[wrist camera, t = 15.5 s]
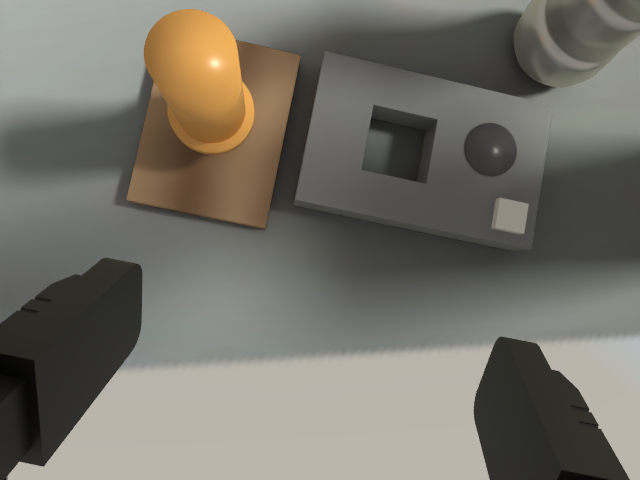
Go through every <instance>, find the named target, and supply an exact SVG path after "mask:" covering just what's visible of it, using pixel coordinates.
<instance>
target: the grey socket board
mask: <svg viewBox="0 0 640 480" xmlns="http://www.w3.org/2000/svg"><path fill="white" fill-rule="evenodd" d="M553 107H554V106H553V105H549V104H545V103H541V102H537V101H533V100H528V99H524V98H520V97H516V96H512V95H508V94H504V93H499V92H495V91H491V90H487V89H483V88H479V87H474V86H470V85H466V84H462V83H458V82H454V81H450V80H445V79H441V78H437V77H433V76H429V75H425V74H420V73H416V72H412V71H408V70H404V69H400V68H395V67H391V66H387V65H383V64H379V63H375V62H371V61H366V60H362V59H358V58H354V57H350V56H346V55H341V54H337V53H333V52H329V51H325V52H324V56H323V60H322V64H321V67H320V72H319V77H318V82H317V87H316V92H315V97H314V102H313V107H312V112H311V117H310V122H309V127H308V132H307V137H306V142H305V147H304V152H303V157H302V162H301V167H300V172H299V177H298V182H297V187H296V192H295V197H294V202H293V205H294V206H299V207H304V208H308V209H313V210H318V211H323V212H328V213H332V214H337V215H342V216H347V217H352V218H356V219H361V220H366V221H371V222H376V223H380V224H385V225H390V226H395V227H400V228H404V229H409V230H414V231H419V232H424V233H428V234H433V235H438V236H443V237H448V238H452V239H457V240H462V241H467V242H472V243H476V244H481V245H486V246H491V247H496V248H500V249H505V250H510V251H519V250H529V249H532V244H533V238H534V231H535V225H536V218H537V212H538V205H539V199H540V192H541V186H542V179H543V173H544V166H545V159H546V153H547V146H548V140H549V133H550V127H551V120H552V114H553ZM371 118H373V119H377V120H382V121H386V122H390V123H395V124H399V125H403V126H408V127H412V128H416V129H421V130H425V137H424V142H423V148H422V154H421V159H420V165H419V170H418V176H417V182H416V181H411V180H407V179H402V178H397V177H393V176H388V175H384V174H379V173H375V172H370V171H365V170H361V169H362V164H363V158H364V153H365V148H366V142H367V137H368V132H369V126H370V121H371Z"/></svg>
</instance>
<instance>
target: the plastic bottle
mask: <svg viewBox="0 0 640 480" xmlns="http://www.w3.org/2000/svg"><path fill="white" fill-rule="evenodd" d="M639 35H640V0H532V1H531V2H530V3H529V5H528V6H527V8H526V9H525V11H524V13H523V14H522V16H521V18H520V19H519V21H518V23H517V25H516V28H515V31H514V38H513V41H514V50H515V54H516V58H517V60H518V63H519V65H520V66H521V68H522V69H523V71H524V72H525V73H526V74H527V75H528V76H529V77H531V78H532V79H534V80H535V81H537V82H539V83H542V84H544V85H547V86H551V87H567V86H571V85H574V84H576V83H579V82H582V81H585V80H587V79H589V78H591V77H592V76H594V75H595V74H597V73H598V72H599V71H600V70H601V69H602V68H603V67H605V66H606V65H607V64H608V63H609V62H610V61H611V60H612V59H613V58H614V56H615V55H616V54H617V53H618V52H619V51H620V50H621V49H623V48H624V47H625V46H627V45H628V44H629V43H630V42H632V41H633V40H634V39H635V38H637V37H638V36H639Z"/></svg>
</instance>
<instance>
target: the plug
mask: <svg viewBox="0 0 640 480" xmlns="http://www.w3.org/2000/svg"><path fill="white" fill-rule="evenodd" d="M144 59H145V64H146V68H147V70H148V72H149V74H150V76H151V77H152V79H153V81H154V82H155V84H156V86H157V87H158V89H159V91H160V92H161V94H162V96H163V97H164V99H165V100H166V102H167V104H168V105H167V113H168V119H169V122H170V125H171V127H172V129H173V130H174V132H175V134H176V135H177V137H178V138H179V139H180V140H181V141H182V142H183V143H184V144H185V145H186V146H187V147H189V148H190V149H192V150H194V151H196V152H199V153H202V154H208V155H218V154H224V153H228V152H230V151H232V150H234V149H236V148H237V147H239V146H240V145H241V144H242V143H243V142H244V141H245V140H246V139H247V137H248V136H249V134H250V132H251V130H252V128H253V124H254V118H255V111H254V103H253V99H252V96H251V94H250V91H249V90H248V88H247V87H246V85H245V84H244V83H243V82H242V78H241V71H240V63H239V56H238V49H237V44H236V41H235V39H234V36H233V34H232V33H231V31H230V30H229V28H228V27H227V26H226V25H225V24H224V23H223V22H222V21H221V20H220V19H218V18H217V17H215V16H213V15H212V14H209V13H207V12H204V11H200V10H194V9H186V10H179V11H175V12H172V13H170V14H168V15H166V16H164V17H163V18H161V19H160V20H159V21H158V22H157V23H156V24H155V25H154V26H153V27H152V29H151V30H150V32H149V34H148V36H147V38H146V42H145V46H144Z"/></svg>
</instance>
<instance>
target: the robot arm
mask: <svg viewBox="0 0 640 480" xmlns="http://www.w3.org/2000/svg"><path fill="white" fill-rule="evenodd" d="M141 318H142V269H141V266H140V265H139V264H135V263H130V262H125V261H120V260H115V259H110V258H103V259H102V260H100V261H99V262H98V263H97V264H95V265H94V266H93V267H92V268H91V269H89V270H88V271H87V272H86V273H84V274H83V275H82V276H81V275H76V274H75V275H73V276H70V277H68V278H65V279H63V280H60V281H58V282H55V283H53V284H51V285H50V286H48V287H47V288H46V289H45V290H43V291H42V292H41V293H39V294H38V295H37V296H36V297H35V299H34V300H33V299H32V300H30V301H29V302H28V303H26V304H25V305H24V306H23V307H21V310H20V311H18V310H17V311H16V312H15V313H14V314H12V315H11V316H10V317H8V318H7V319H6V320H5V321H3V322H2V323H1V324H0V480H8V477H7V476H8V474H9V473H10V472H11V471H12V470H13V468H14V467H15V466H16V465H17V463H18V462H19V461H20V462H25V463H29V464H34V465H38V466H44V465H45V464H46V463H47V461H48V460H49V459H50V458H51V456H52V455H53V454H54V452H55V451H56V450H57V448H58V447H59V446H60V445H61V443H62V442H63V441H64V439H65V438H66V437H67V435H68V434H69V433H70V431H71V430H72V429H73V428H74V426H75V425H76V424H77V422H78V421H79V420H80V418H81V417H82V416H83V415H84V413H85V412H86V410H87V409H88V408H89V407H90V405H91V404H92V403H93V401H94V400H95V399H96V398H97V396H98V395H99V394H100V392H101V391H102V390H103V388H104V387H105V386H106V384H107V383H108V382H109V380H110V379H111V378H112V377H113V375H114V374H115V373H116V371H117V370H118V369H119V367H120V366H121V365H122V364H123V362H124V361H125V360H126V358H127V357H128V356H129V354H130V353H131V352H132V350H133V349H134V347H135V345H136V343H137V340H138V337H139V334H140V330H141ZM474 419H475V424H476V428H477V432H478V435H479V439H480V443H481V447H482V451H483V455H484V459H485V462H486V467H487V470H488V474H489V478H490V480H630V479H629V478H628V476H627V474H626V472H625V471H624V469H623V467H622V465H621V464H620V462H619V460H618V458H617V457H616V455H615V453H614V451H613V450H612V448H611V446H610V444H609V443H608V441H607V439H606V437H605V436H604V434H603V432H602V431H601V429H598V423H597V422H596V420H595V418H594V416H593V415H592V413H590V412H589V408H588V406H587V404H586V402H585V401H584V399H583V397H582V396H581V394H580V392H579V390H578V389H577V388H576V387H575V386H574V385H573V384H572V383H571V382H570V381H569V380H567V379H566V377H564V376H563V375H562V374H561V373H560V372H559V371H555V370H551V368H550V366H549V364H548V362H547V360H546V358H545V357H544V355H543V353H542V351H541V349H540V347H539V346H538V345H537V344H536V343H532V342H527V341H522V340H517V339H512V338H506V337H499V338H498V339H497V341H496V342H495V344H494V347H493V349H492V352H491V355H490V357H489V360H488V363H487V365H486V368H485V371H484V374H483V376H482V379H481V381H480V384H479V387H478V390H477V393H476V396H475V402H474Z"/></svg>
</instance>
